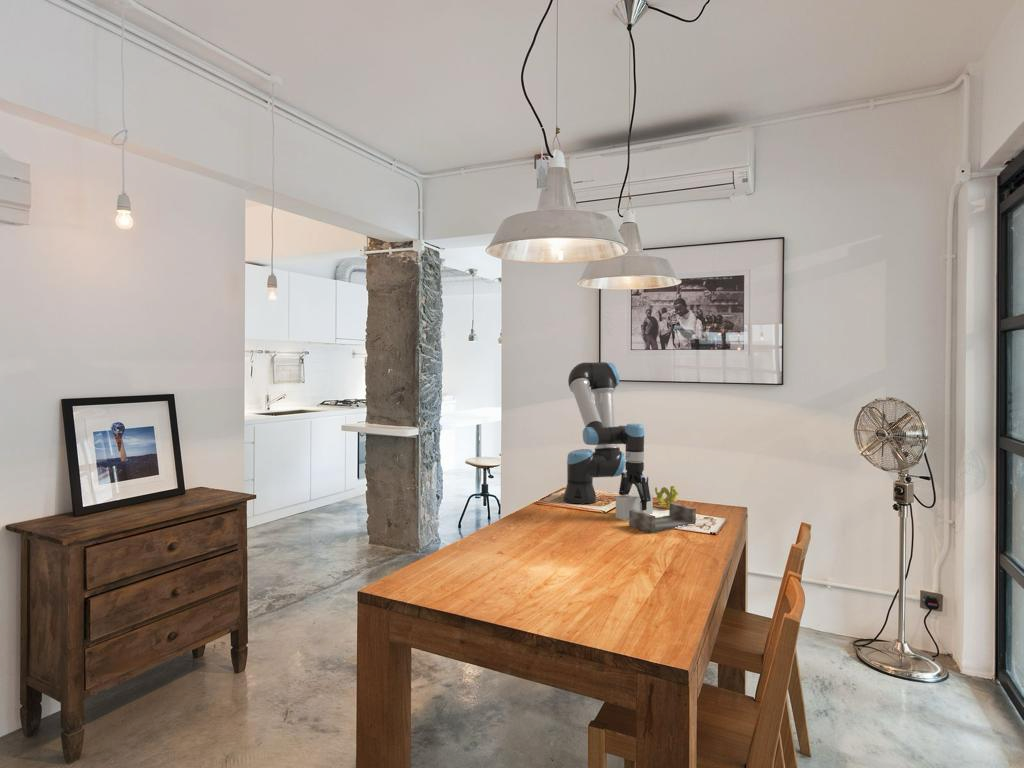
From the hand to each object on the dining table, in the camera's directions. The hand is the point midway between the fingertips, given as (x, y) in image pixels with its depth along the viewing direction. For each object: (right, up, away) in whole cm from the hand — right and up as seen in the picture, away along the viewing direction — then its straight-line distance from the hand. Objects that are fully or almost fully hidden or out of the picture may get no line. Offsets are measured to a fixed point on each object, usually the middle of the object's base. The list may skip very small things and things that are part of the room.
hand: (634, 515), depth 248 cm
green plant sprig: (+17, 0, +18) cm, 25 cm away
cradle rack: (+8, -1, -14) cm, 16 cm away
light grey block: (0, -1, 0) cm, 1 cm away
